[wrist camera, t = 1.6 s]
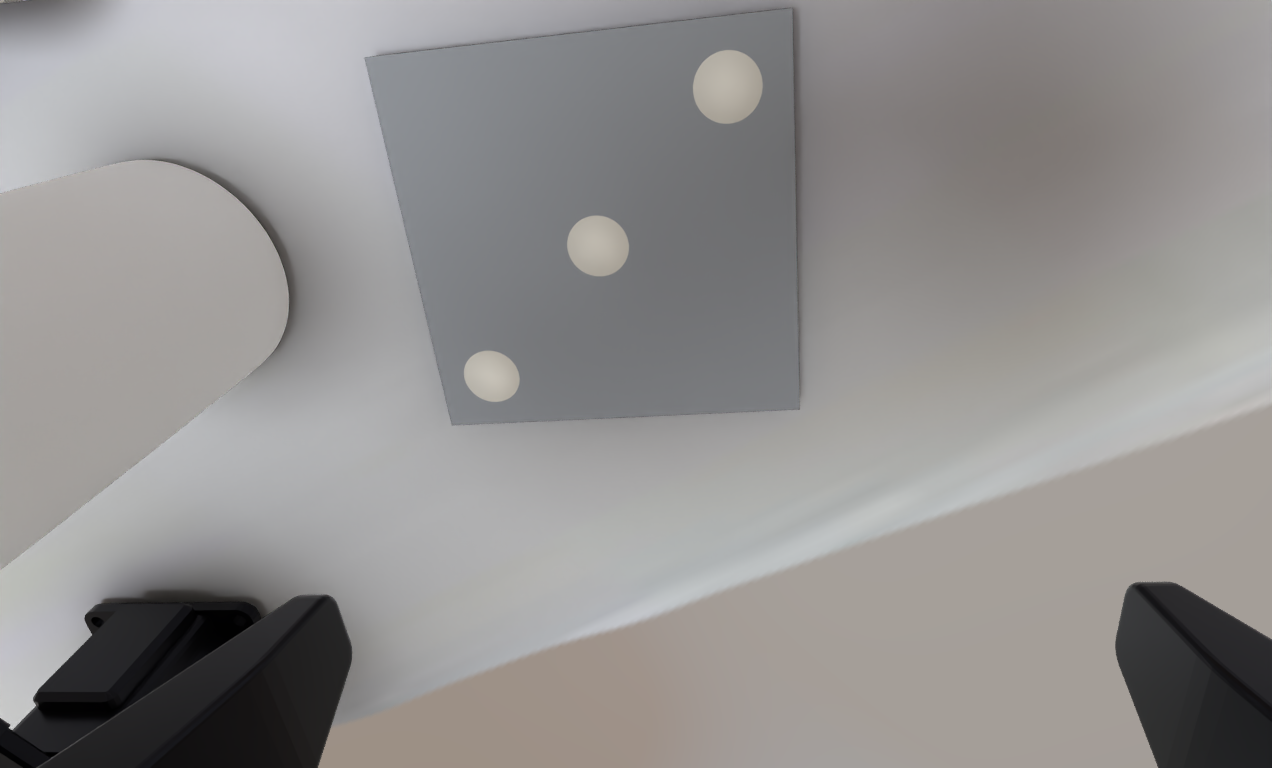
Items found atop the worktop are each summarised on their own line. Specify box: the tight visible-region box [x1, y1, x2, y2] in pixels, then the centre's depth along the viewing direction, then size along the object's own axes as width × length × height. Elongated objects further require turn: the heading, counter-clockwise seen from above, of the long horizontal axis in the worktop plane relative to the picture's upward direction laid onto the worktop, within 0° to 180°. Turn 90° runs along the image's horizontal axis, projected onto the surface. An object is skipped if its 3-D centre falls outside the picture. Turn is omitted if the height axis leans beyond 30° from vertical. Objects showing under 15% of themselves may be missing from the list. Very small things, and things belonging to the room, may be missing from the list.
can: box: [0, 160, 289, 570], centre depth 17 cm, size 6×6×12 cm
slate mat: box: [365, 8, 800, 425], centre depth 20 cm, size 10×10×1 cm
